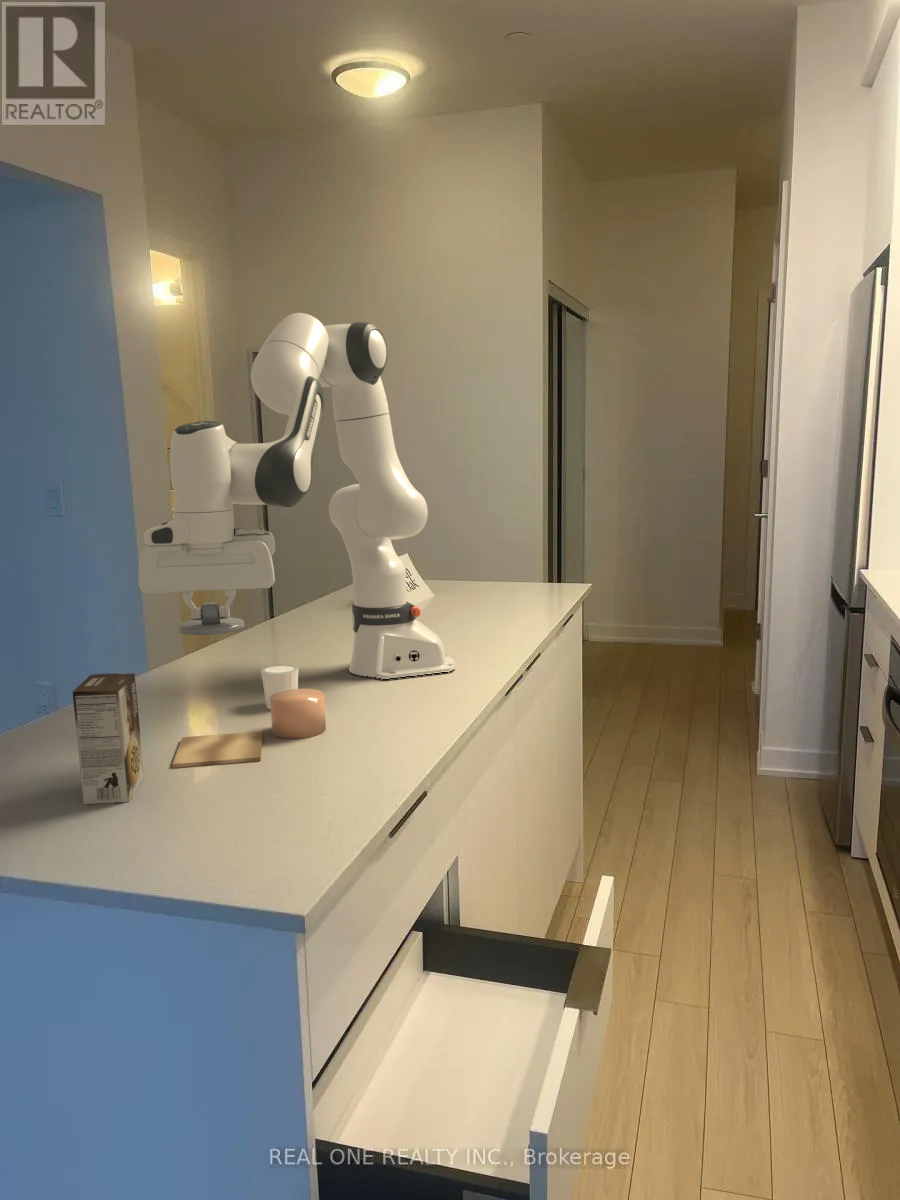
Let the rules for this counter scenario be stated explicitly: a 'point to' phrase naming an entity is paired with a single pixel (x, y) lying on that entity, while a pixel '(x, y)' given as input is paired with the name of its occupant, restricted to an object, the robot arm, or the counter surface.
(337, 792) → the counter surface
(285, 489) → the robot arm
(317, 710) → the canister
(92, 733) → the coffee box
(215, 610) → the lid
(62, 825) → the counter surface
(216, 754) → the mat
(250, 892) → the counter surface
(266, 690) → the white cup
